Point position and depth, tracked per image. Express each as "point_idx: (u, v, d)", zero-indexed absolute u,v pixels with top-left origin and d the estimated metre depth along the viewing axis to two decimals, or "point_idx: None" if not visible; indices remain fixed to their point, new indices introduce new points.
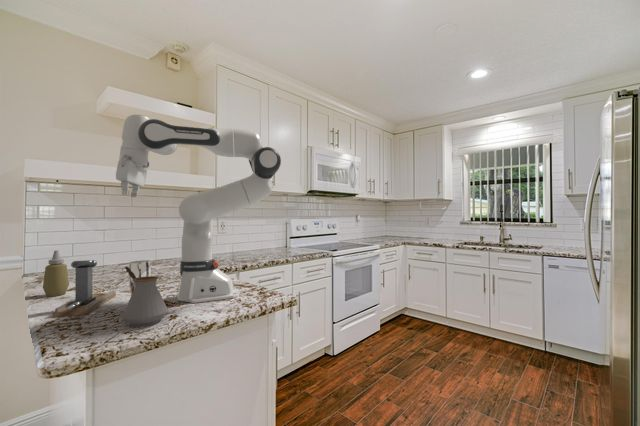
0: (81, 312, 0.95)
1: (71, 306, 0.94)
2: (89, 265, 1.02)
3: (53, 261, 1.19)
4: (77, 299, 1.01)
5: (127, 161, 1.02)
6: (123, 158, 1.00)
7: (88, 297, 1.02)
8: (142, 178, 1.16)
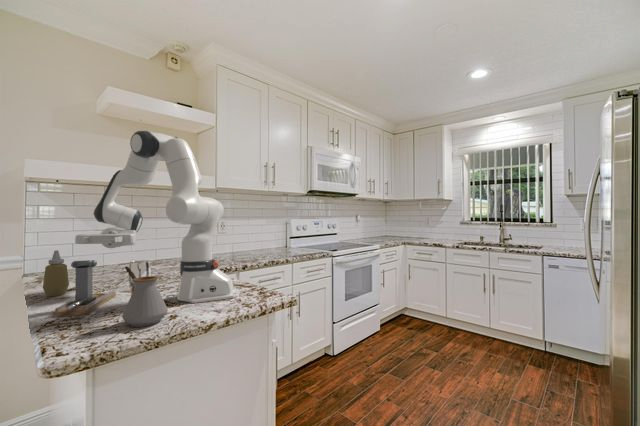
0: (81, 312, 0.95)
1: (71, 306, 0.94)
2: (89, 265, 1.02)
3: (53, 261, 1.19)
4: (77, 299, 1.01)
5: None
6: None
7: (88, 297, 1.02)
8: None
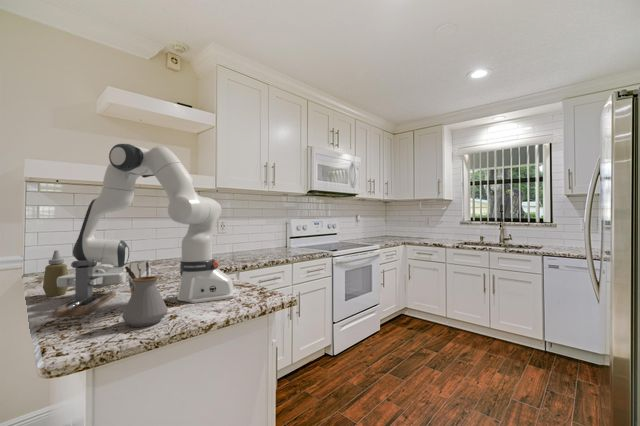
0: (81, 312, 0.95)
1: (71, 306, 0.94)
2: (89, 265, 1.02)
3: (53, 261, 1.19)
4: (77, 299, 1.01)
5: None
6: None
7: (88, 297, 1.02)
8: (112, 273, 1.11)
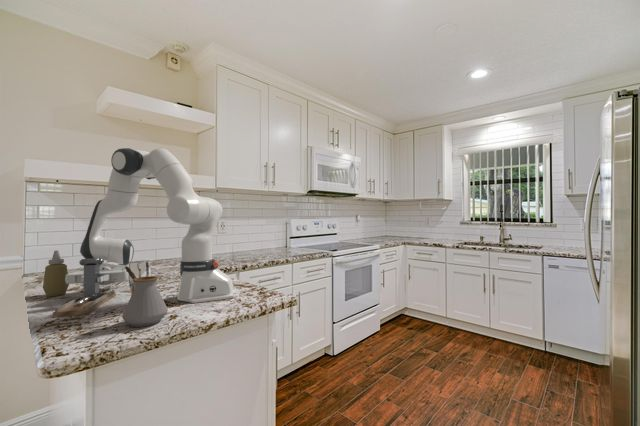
0: (81, 312, 0.95)
1: (80, 301, 0.99)
2: (96, 263, 1.08)
3: (53, 261, 1.19)
4: (85, 295, 1.06)
5: None
6: None
7: (95, 293, 1.07)
8: (118, 270, 1.16)
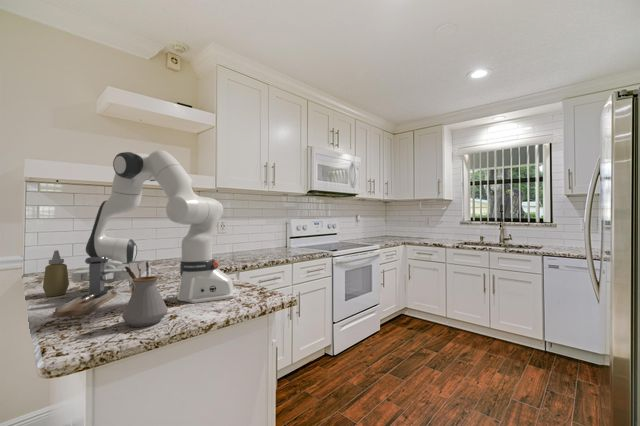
0: (81, 312, 0.95)
1: (86, 298, 1.03)
2: (101, 261, 1.12)
3: (53, 261, 1.19)
4: (91, 292, 1.10)
5: None
6: None
7: (100, 290, 1.11)
8: None
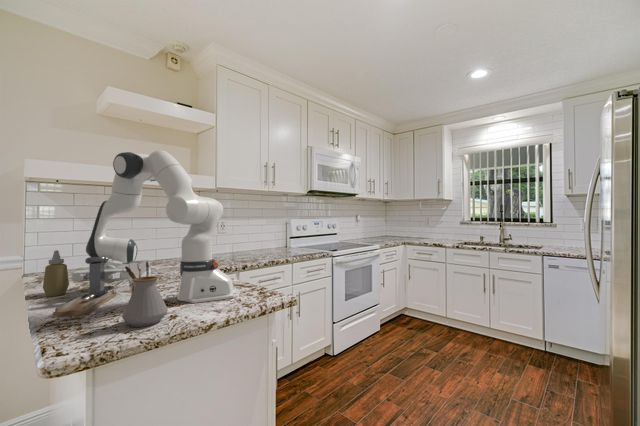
0: (81, 312, 0.95)
1: (86, 298, 1.04)
2: (101, 261, 1.12)
3: (53, 261, 1.19)
4: (91, 292, 1.10)
5: None
6: None
7: (101, 290, 1.12)
8: None
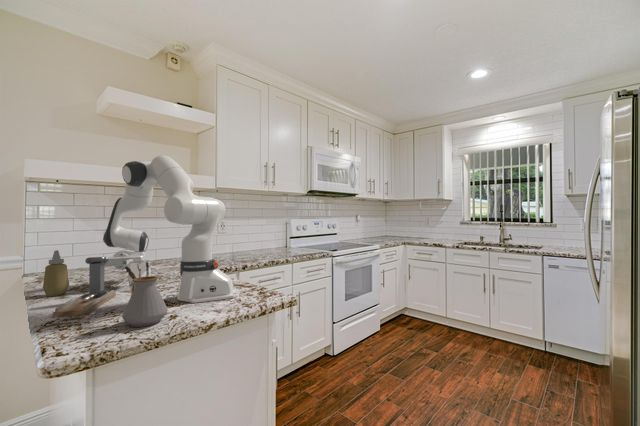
0: (81, 312, 0.95)
1: (86, 298, 1.04)
2: (101, 261, 1.12)
3: (53, 261, 1.19)
4: (91, 292, 1.10)
5: None
6: None
7: (101, 290, 1.12)
8: (134, 256, 1.34)
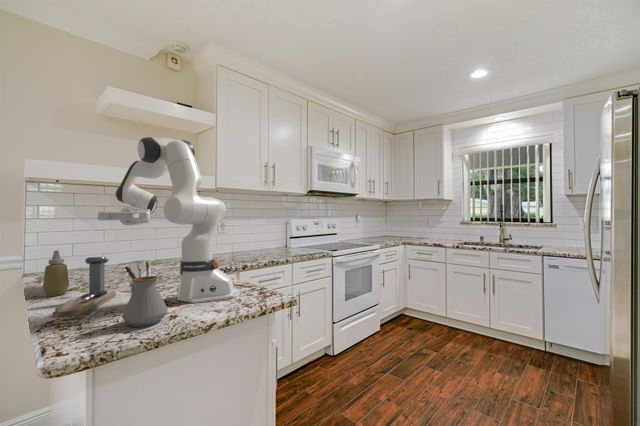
0: (81, 312, 0.95)
1: (86, 298, 1.04)
2: (101, 261, 1.12)
3: (53, 261, 1.19)
4: (91, 292, 1.10)
5: None
6: None
7: (101, 290, 1.12)
8: None
